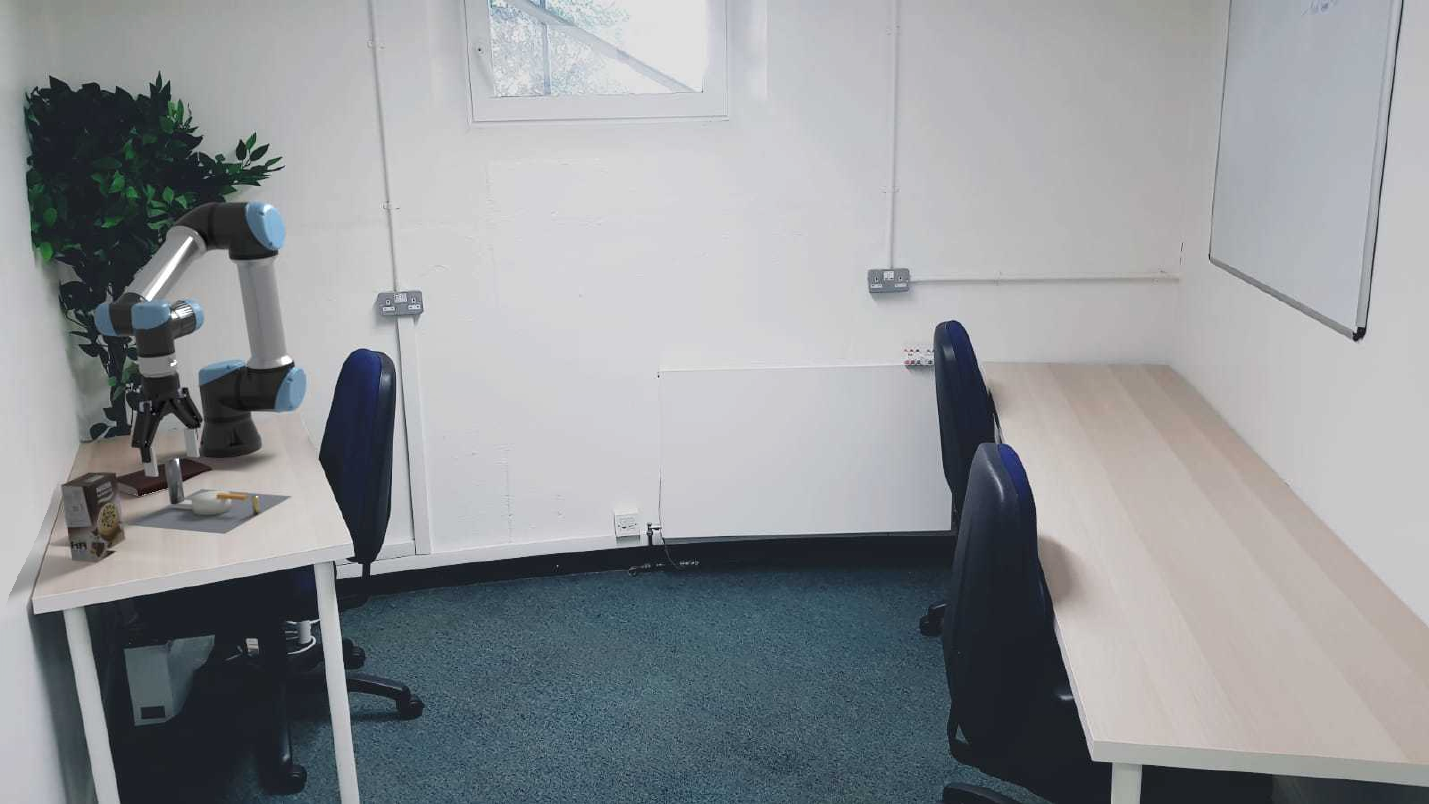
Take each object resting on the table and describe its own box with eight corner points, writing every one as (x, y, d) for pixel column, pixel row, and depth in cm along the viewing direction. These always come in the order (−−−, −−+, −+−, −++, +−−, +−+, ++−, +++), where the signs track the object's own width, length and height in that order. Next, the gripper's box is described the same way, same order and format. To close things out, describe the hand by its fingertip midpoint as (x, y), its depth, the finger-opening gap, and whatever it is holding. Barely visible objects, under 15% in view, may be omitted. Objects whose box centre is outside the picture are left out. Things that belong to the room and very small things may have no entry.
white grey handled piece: (258, 506, 268) (253, 459, 265) (236, 518, 261) (230, 470, 258) (184, 499, 273) (178, 453, 270) (160, 511, 266) (153, 464, 263)
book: (213, 477, 296) (212, 465, 295) (138, 500, 281) (136, 486, 280) (184, 469, 303) (183, 457, 302) (110, 490, 288) (108, 477, 287)
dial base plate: (202, 495, 282) (199, 472, 280) (292, 502, 275) (290, 479, 274) (129, 531, 259) (125, 507, 258) (225, 540, 253) (222, 515, 252)
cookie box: (99, 562, 242) (87, 486, 238) (71, 560, 243) (58, 485, 239) (128, 545, 251) (117, 471, 247) (100, 544, 252) (88, 470, 248)
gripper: (133, 388, 249) (148, 485, 255) (211, 360, 272) (223, 449, 278) (103, 386, 251) (118, 483, 256) (183, 358, 274) (195, 447, 280)
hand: (173, 466), depth 267 cm, fingers open, 13 cm apart
